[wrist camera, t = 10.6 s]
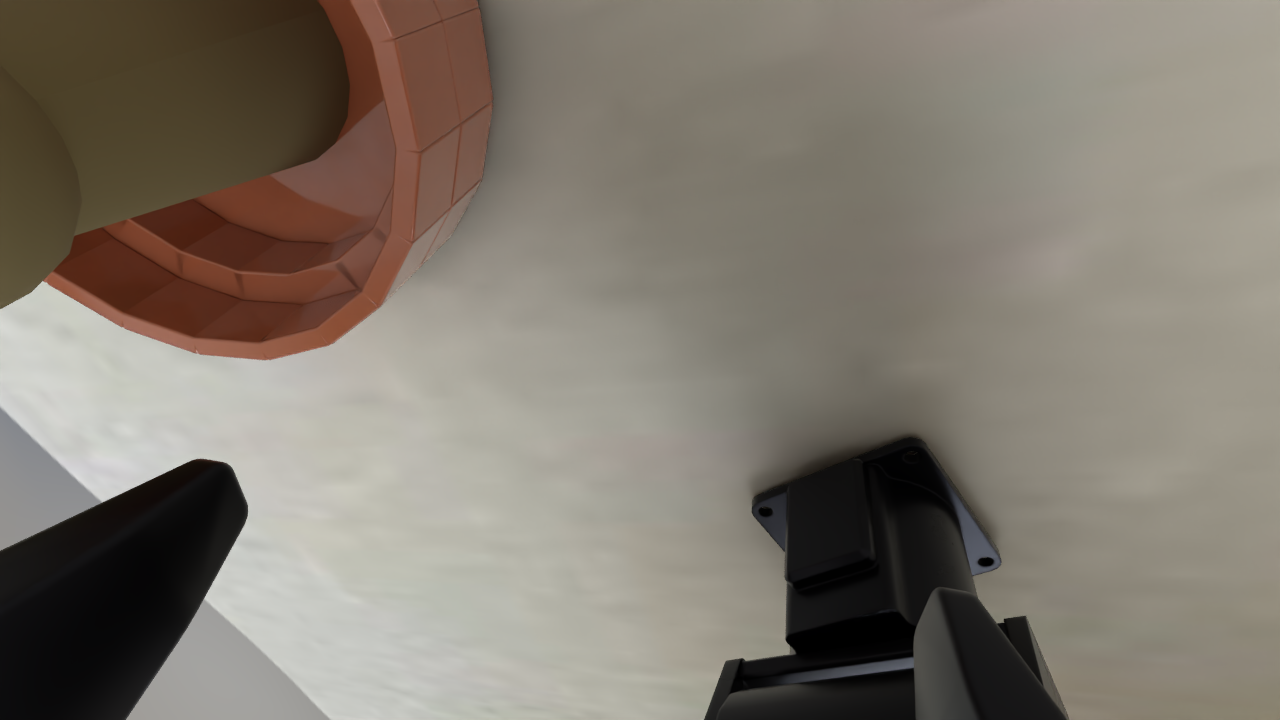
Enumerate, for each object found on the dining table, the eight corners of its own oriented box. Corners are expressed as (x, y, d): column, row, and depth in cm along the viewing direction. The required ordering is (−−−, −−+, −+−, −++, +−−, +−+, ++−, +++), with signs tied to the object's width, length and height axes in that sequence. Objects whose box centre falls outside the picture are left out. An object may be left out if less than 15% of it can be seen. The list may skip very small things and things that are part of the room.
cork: (207, 173, 21) (-217, 380, 13) (98, -52, 18) (-581, 11, 9) (380, 159, 20) (41, 381, 11) (296, -88, 17) (-280, -54, 8)
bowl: (604, 113, 19) (548, 177, 15) (313, 343, 25) (220, 430, 21) (155, -491, 14) (-116, -646, 10) (-58, -6, 20) (-271, 21, 16)
